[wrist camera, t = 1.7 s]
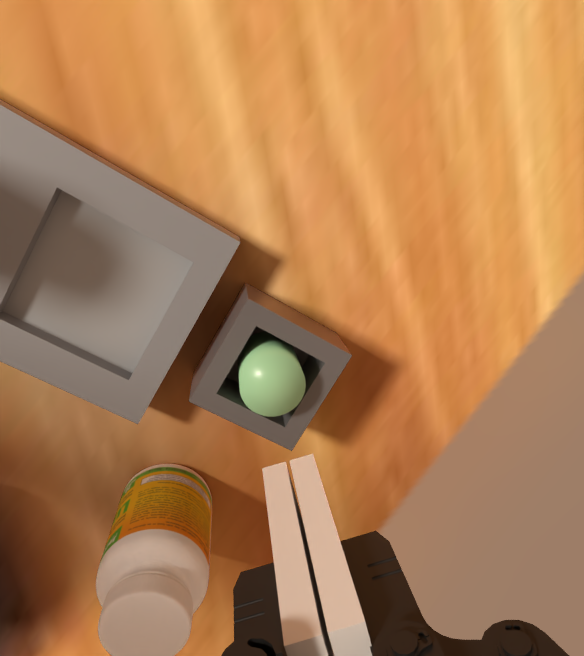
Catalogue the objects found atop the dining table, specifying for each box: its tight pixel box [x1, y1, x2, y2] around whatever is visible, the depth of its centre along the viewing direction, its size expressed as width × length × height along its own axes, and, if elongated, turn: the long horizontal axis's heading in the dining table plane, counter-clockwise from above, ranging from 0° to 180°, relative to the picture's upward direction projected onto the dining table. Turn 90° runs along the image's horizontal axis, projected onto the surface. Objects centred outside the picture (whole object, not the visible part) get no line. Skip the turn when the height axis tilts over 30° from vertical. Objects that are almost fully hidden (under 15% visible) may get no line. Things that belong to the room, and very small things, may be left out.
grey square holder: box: [189, 283, 352, 451], centre depth 29 cm, size 6×6×4 cm
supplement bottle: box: [96, 464, 212, 656], centre depth 28 cm, size 5×5×10 cm
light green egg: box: [238, 331, 306, 417], centre depth 28 cm, size 3×3×4 cm
